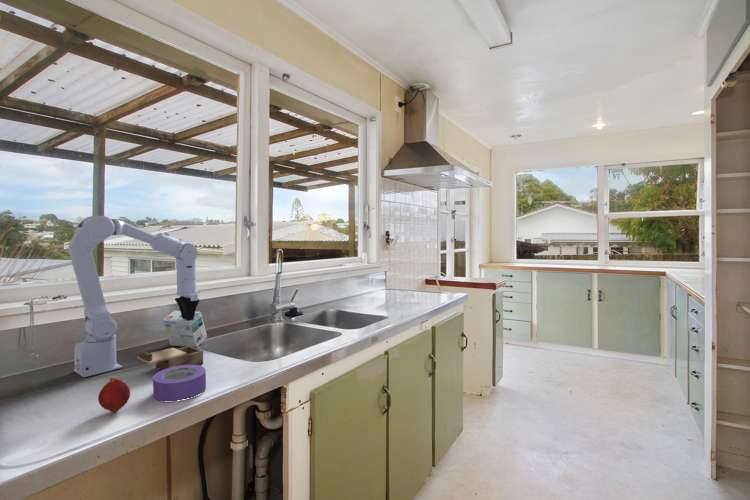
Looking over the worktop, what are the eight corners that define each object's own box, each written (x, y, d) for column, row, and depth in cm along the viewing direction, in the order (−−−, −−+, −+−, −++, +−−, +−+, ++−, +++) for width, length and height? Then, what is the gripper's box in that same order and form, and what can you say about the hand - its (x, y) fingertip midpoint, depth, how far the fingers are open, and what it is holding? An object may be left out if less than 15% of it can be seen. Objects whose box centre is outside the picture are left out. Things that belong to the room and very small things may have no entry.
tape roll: (178, 406, 87) (178, 385, 87) (141, 398, 91) (141, 378, 91) (216, 387, 98) (216, 368, 98) (182, 380, 103) (181, 362, 102)
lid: (150, 364, 102) (149, 355, 102) (136, 358, 107) (136, 349, 107) (186, 354, 110) (186, 346, 110) (173, 349, 115) (172, 341, 115)
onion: (109, 406, 87) (108, 371, 86) (135, 405, 87) (135, 371, 87) (92, 418, 81) (91, 382, 81) (121, 417, 82) (120, 381, 81)
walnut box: (169, 373, 106) (169, 359, 106) (155, 367, 111) (155, 354, 111) (203, 364, 114) (203, 351, 114) (189, 358, 119) (189, 346, 119)
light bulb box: (208, 336, 137) (201, 310, 133) (197, 348, 130) (190, 321, 126) (181, 334, 138) (174, 309, 134) (169, 346, 132) (161, 319, 128)
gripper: (206, 279, 124) (208, 320, 125) (191, 275, 134) (192, 313, 135) (183, 282, 119) (185, 324, 120) (169, 277, 129) (171, 316, 130)
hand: (187, 319), depth 127 cm, fingers open, 3 cm apart
